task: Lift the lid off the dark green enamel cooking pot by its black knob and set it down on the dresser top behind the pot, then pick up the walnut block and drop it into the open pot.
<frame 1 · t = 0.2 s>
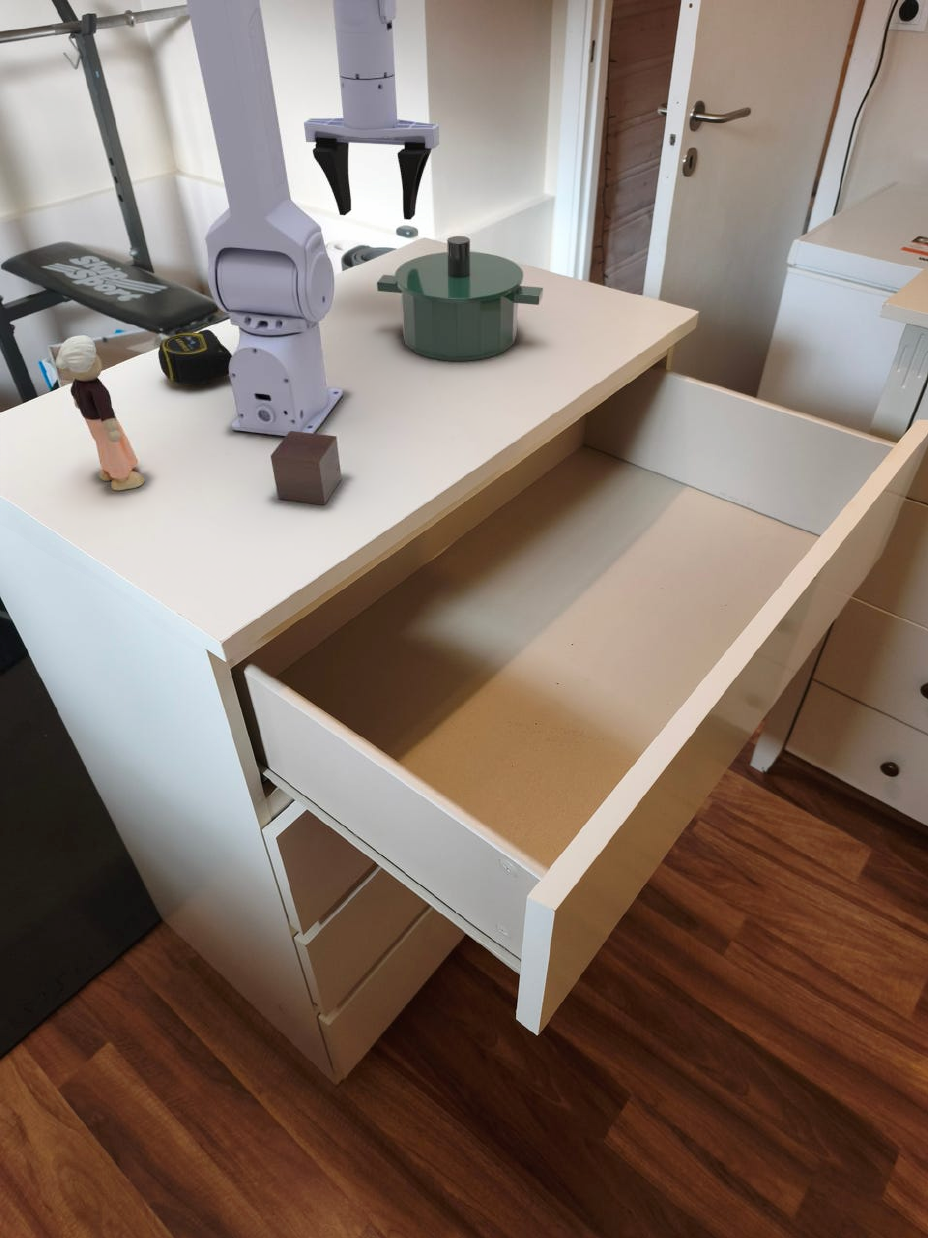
hand: (377, 214, 97), 10 cm above the table, tool pointing down, fingers open, 7 cm apart
block: (310, 488, 73), on the table
tape measure: (204, 375, 89), on the table
grandmother figurine: (120, 477, 75), on the table
pot: (459, 336, 96), on the table
pot lid: (459, 278, 91), point 6 cm above the table, touching pot
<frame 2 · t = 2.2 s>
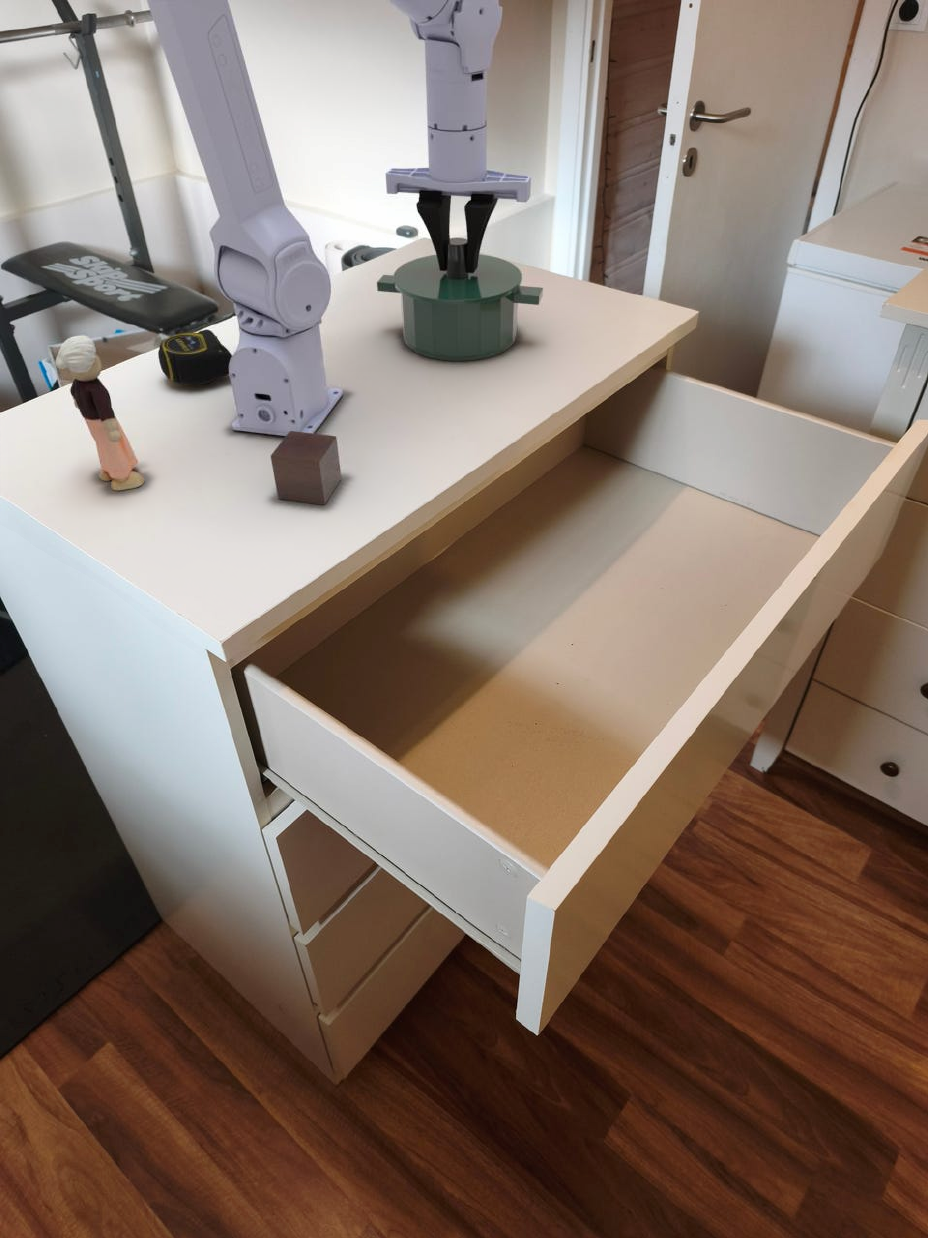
hand: (458, 268, 91), 8 cm above the table, tool pointing down, fingers closed on pot lid, 2 cm apart
pot lid: (457, 279, 91), point 7 cm above the table, touching gripper, pot
everything else where it was.
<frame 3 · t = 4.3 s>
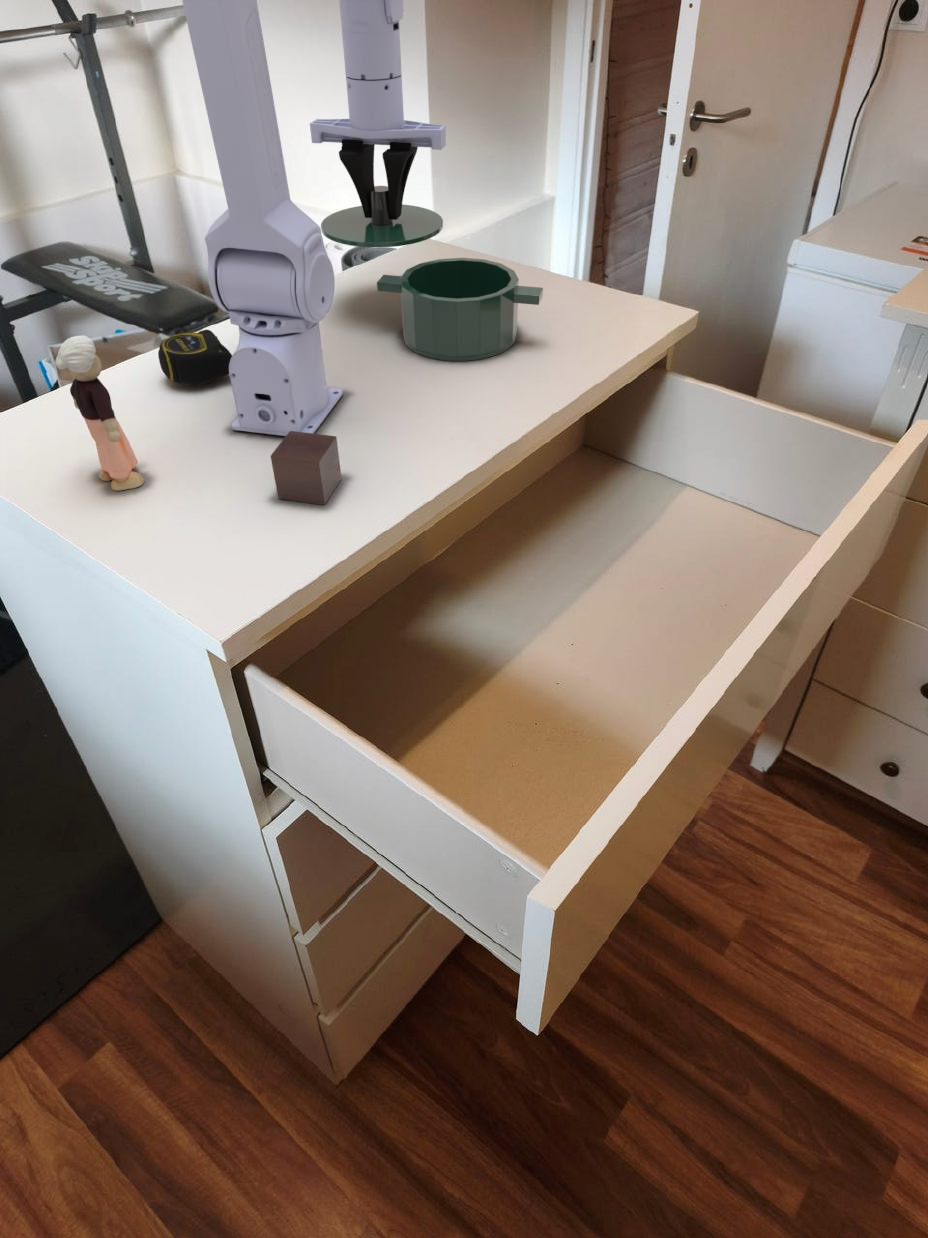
hand: (383, 216, 96), 10 cm above the table, tool pointing down, fingers closed on pot lid, 2 cm apart
pot lid: (382, 226, 96), point 9 cm above the table, touching gripper
everything else where it was.
when the fingers open (2 cm above the table, at t = 6.6 s): pot lid stays where it is, point 1 cm above the table.
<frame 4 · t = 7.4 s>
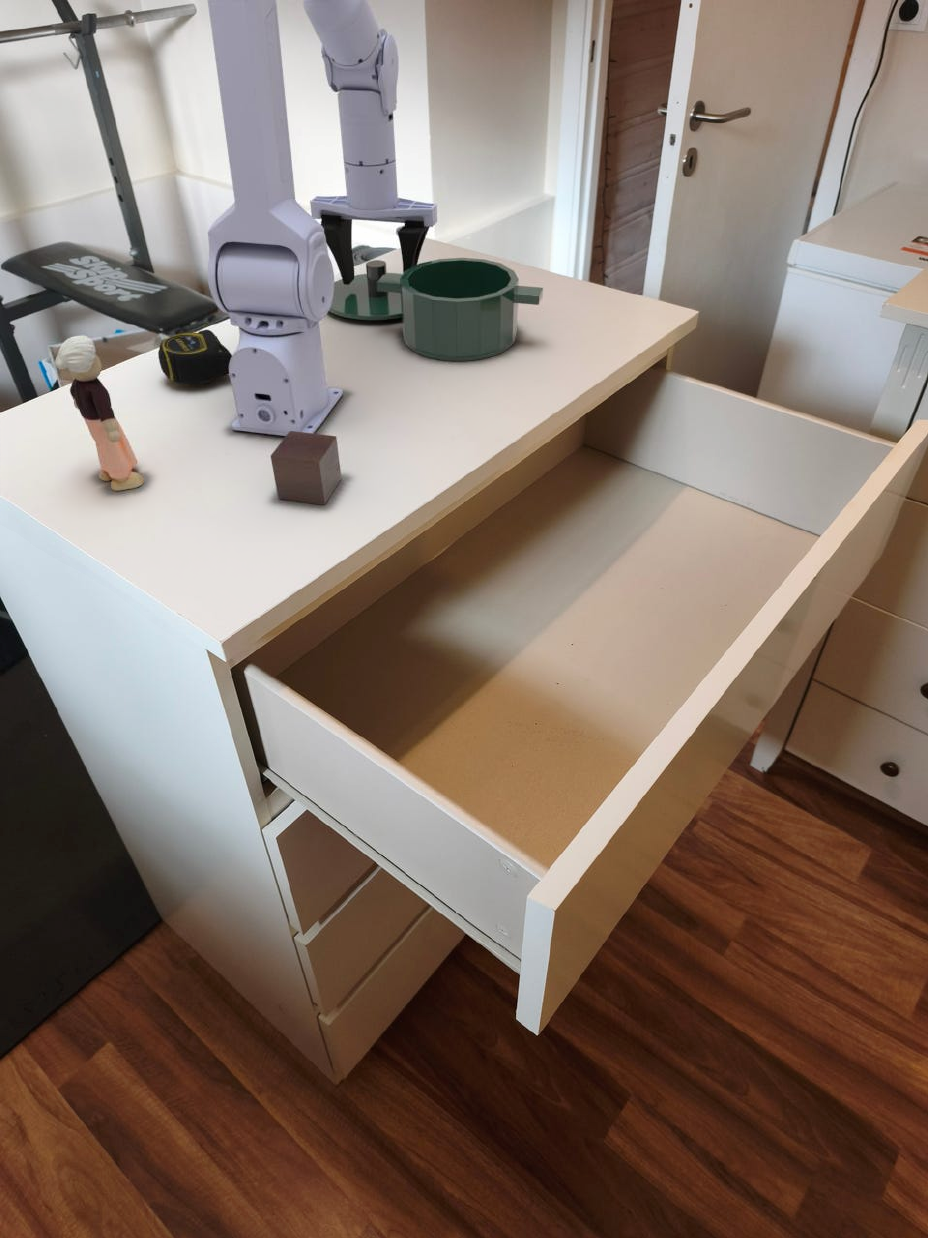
hand: (379, 284, 102), 2 cm above the table, tool pointing down, fingers open, 7 cm apart
pot lid: (378, 297, 103), point 1 cm above the table
everything else where it was.
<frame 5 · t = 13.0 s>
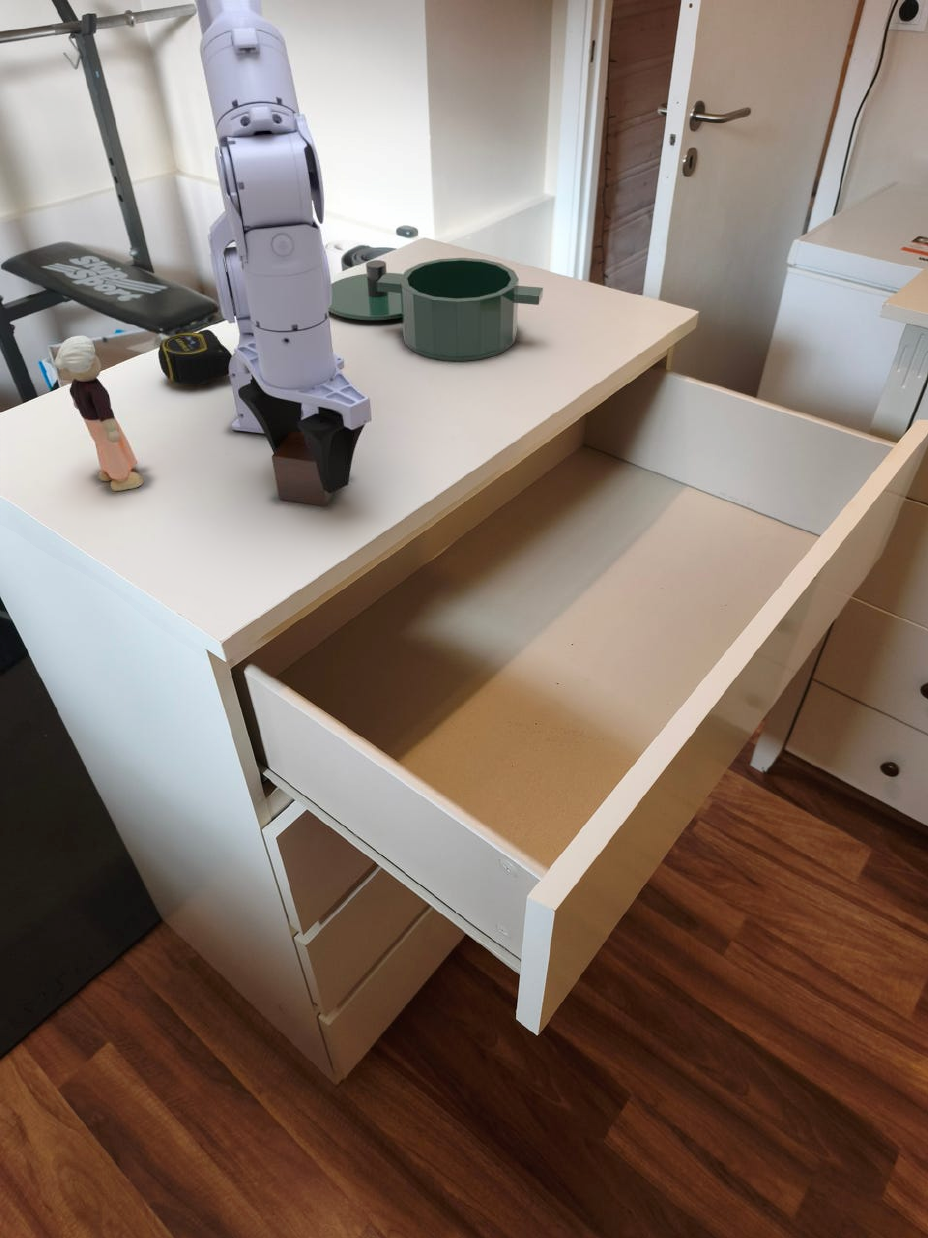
hand: (313, 473, 72), 1 cm above the table, tool pointing down, fingers closed on block, 5 cm apart
block: (311, 489, 73), on the table, touching gripper
everything else where it was.
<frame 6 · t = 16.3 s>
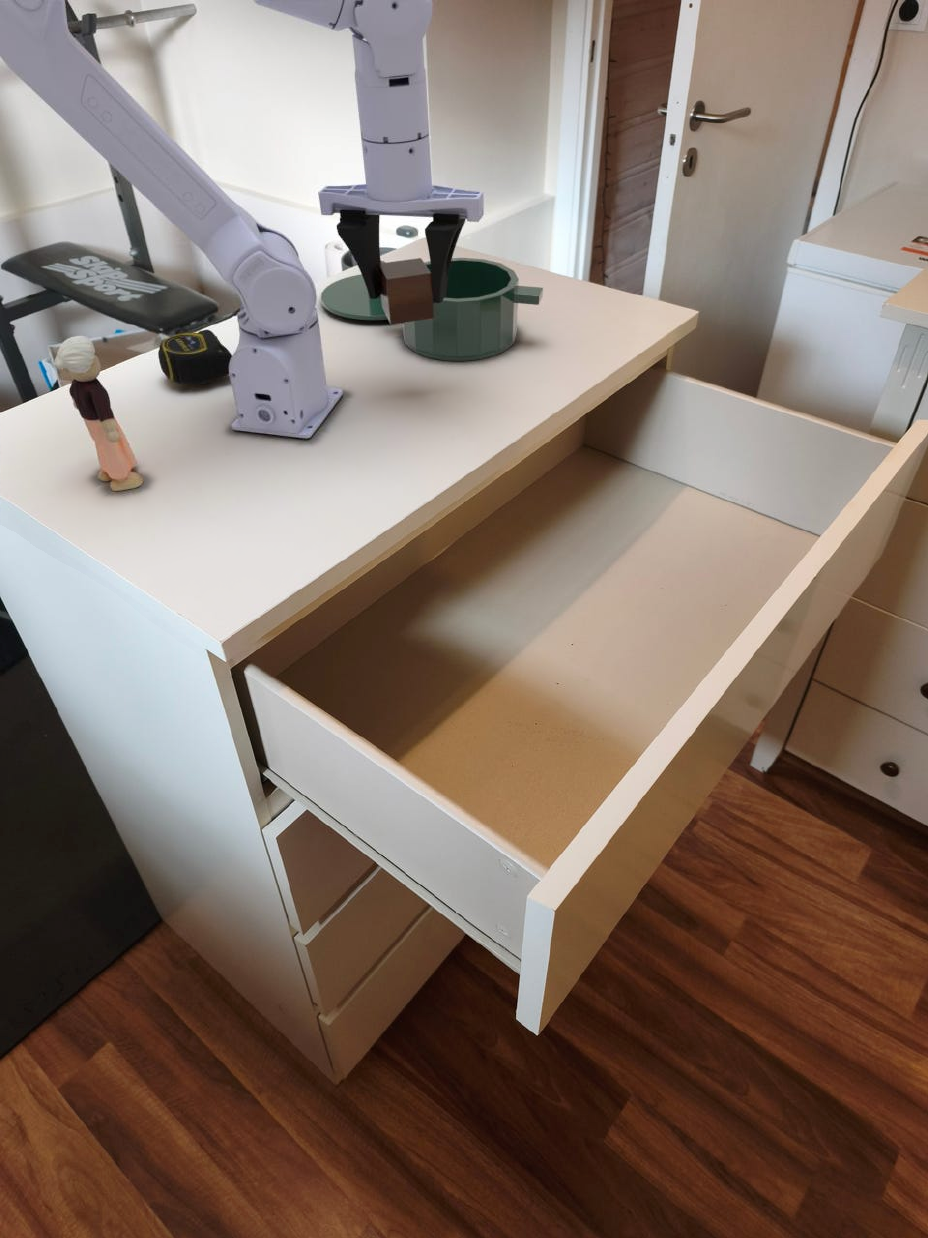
hand: (408, 296, 80), 9 cm above the table, tool pointing down, fingers closed on block, 5 cm apart
block: (407, 313, 81), point 8 cm above the table, touching gripper
everything else where it was.
when the fingers open (4 cm above the table, at t = 19.8 s): block drops 3 cm, resting on pot.
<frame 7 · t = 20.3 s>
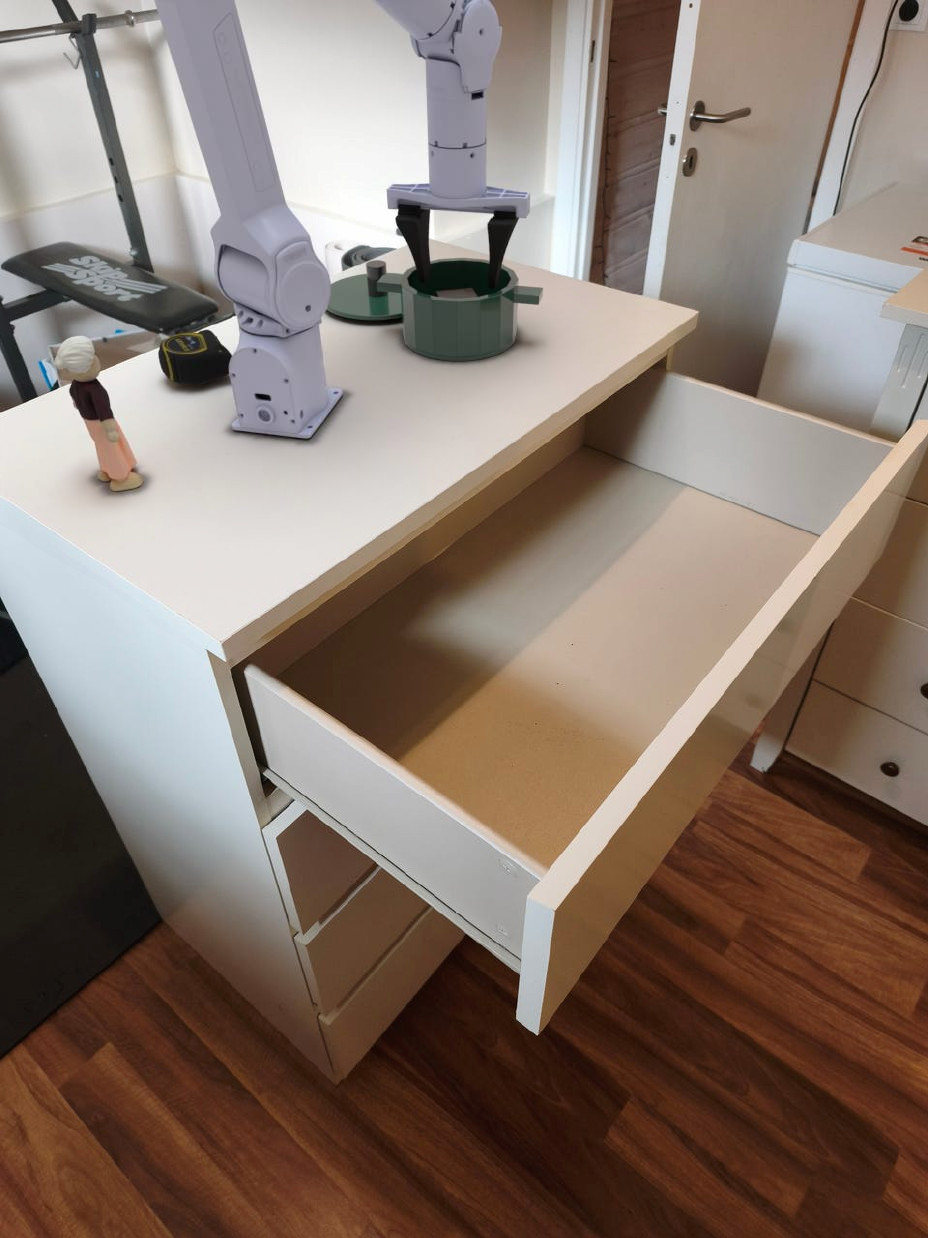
hand: (458, 282, 92), 6 cm above the table, tool pointing down, fingers open, 7 cm apart
block: (458, 333, 95), point 1 cm above the table, touching pot
everything else where it was.
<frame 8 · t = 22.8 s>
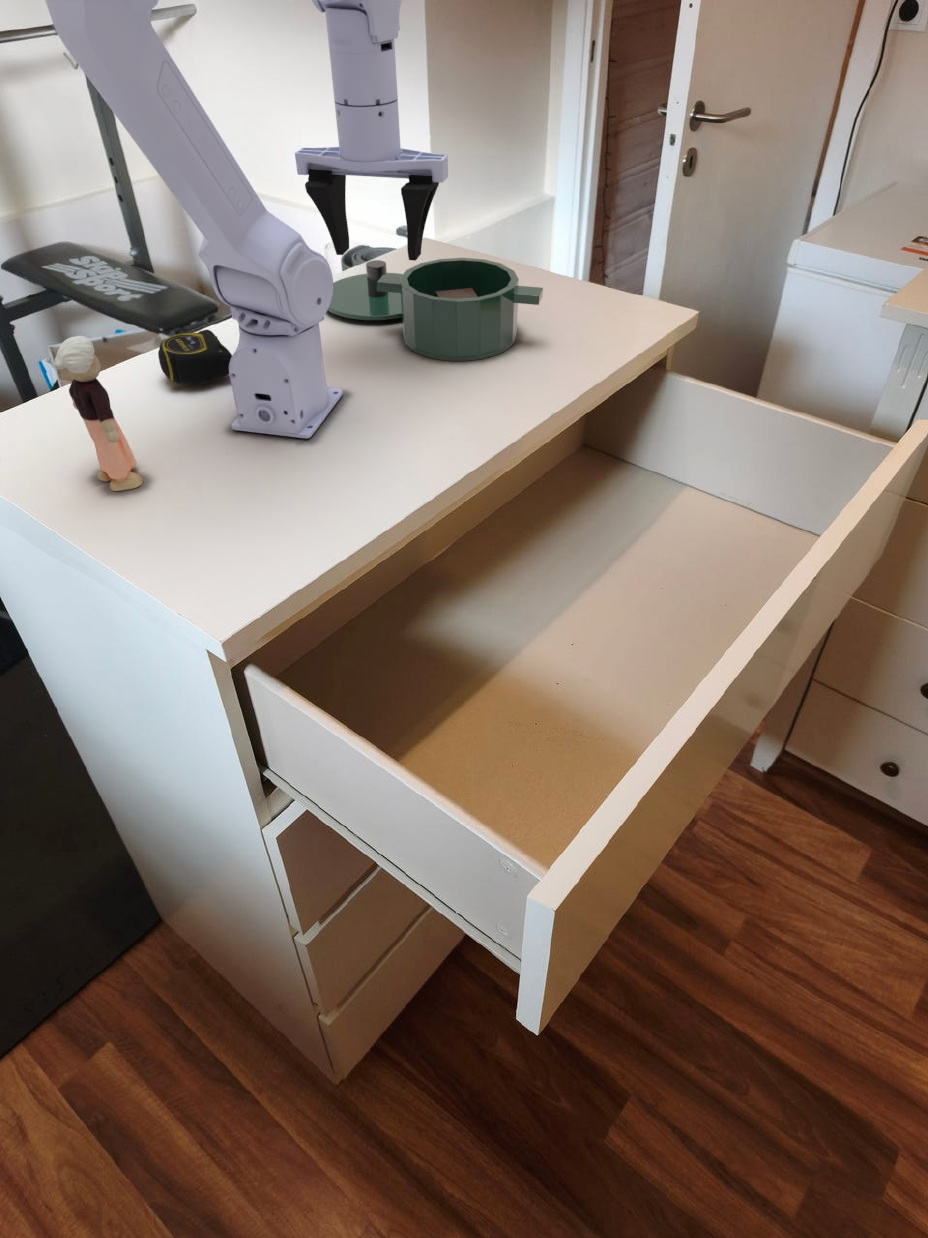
hand: (378, 254, 86), 10 cm above the table, tool pointing down, fingers open, 7 cm apart
nothing on the table moved.
at the end: pot lid inside the target area on the table beside the pot (0.5 cm from its centre), point 0.6 cm above the table; block inside the target area in the pot (0.4 cm from its centre), point 0.5 cm above the pot's base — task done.
